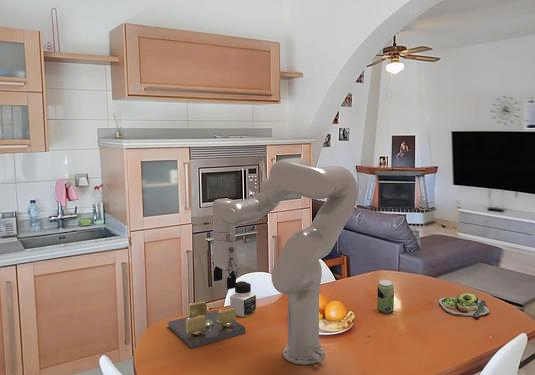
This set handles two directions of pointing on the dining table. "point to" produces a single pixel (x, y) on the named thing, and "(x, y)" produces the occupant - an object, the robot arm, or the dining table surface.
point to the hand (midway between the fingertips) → (224, 284)
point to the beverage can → (385, 296)
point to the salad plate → (465, 305)
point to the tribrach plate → (206, 330)
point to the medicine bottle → (243, 299)
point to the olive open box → (197, 309)
